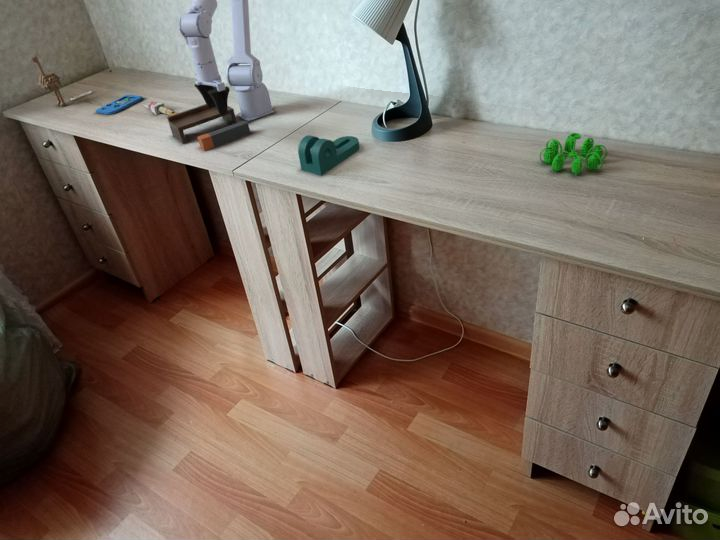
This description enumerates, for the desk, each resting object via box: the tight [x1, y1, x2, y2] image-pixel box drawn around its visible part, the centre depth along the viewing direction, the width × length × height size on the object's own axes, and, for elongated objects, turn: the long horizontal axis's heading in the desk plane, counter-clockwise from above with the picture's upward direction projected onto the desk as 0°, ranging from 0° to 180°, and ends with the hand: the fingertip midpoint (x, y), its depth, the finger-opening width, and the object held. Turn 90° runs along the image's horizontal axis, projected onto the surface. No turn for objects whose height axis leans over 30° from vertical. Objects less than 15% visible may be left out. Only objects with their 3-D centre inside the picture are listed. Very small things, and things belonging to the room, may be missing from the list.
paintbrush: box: [141, 101, 178, 116], centre depth 186 cm, size 4×3×20 cm
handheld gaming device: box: [95, 94, 144, 115], centre depth 196 cm, size 8×1×15 cm
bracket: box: [297, 134, 360, 177], centre depth 144 cm, size 18×7×8 cm, turn 143°
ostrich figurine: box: [29, 55, 93, 108], centre depth 201 cm, size 17×7×18 cm, turn 144°
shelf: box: [166, 103, 238, 144], centre depth 169 cm, size 18×8×6 cm, turn 127°
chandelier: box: [539, 132, 609, 176], centre depth 129 cm, size 15×15×7 cm
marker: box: [197, 120, 251, 152], centre depth 161 cm, size 15×3×4 cm, turn 127°
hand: (217, 110), depth 157 cm, fingers open, 7 cm apart
